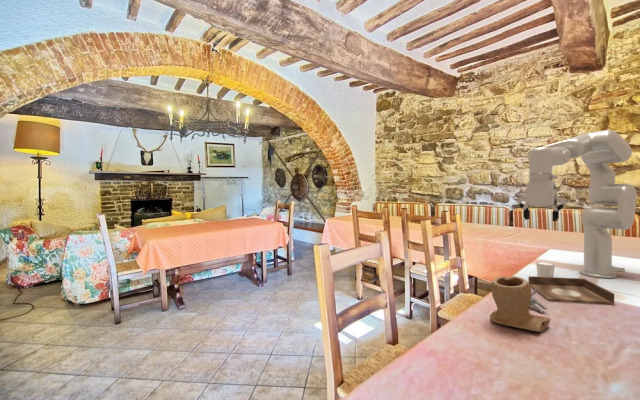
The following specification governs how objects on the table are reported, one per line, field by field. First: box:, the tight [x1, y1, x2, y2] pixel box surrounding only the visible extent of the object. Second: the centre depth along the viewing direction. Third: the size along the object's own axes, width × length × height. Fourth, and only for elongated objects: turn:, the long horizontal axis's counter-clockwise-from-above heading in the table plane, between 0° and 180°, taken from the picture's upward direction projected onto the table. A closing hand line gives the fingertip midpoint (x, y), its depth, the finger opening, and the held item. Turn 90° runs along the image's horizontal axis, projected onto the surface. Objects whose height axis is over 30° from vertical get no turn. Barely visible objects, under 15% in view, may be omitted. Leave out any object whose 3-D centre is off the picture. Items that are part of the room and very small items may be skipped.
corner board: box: [528, 276, 615, 306], centre depth 118 cm, size 20×18×4 cm
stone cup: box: [489, 275, 551, 333], centre depth 93 cm, size 15×12×15 cm
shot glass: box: [535, 261, 556, 277], centre depth 138 cm, size 7×7×7 cm
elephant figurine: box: [529, 289, 548, 314], centre depth 105 cm, size 10×6×9 cm
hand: (540, 220), depth 123 cm, fingers open, 9 cm apart
